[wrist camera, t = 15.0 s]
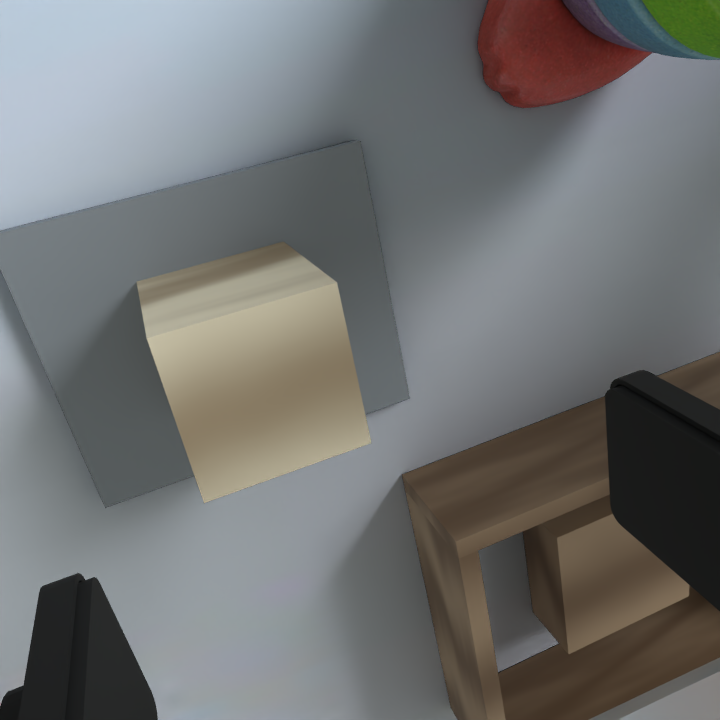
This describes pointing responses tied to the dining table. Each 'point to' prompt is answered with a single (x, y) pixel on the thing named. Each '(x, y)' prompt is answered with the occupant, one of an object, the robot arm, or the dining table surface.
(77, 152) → the dining table surface
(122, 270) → the slate mat
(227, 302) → the birch block
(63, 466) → the dining table surface
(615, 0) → the stacking bear
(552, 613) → the frame
